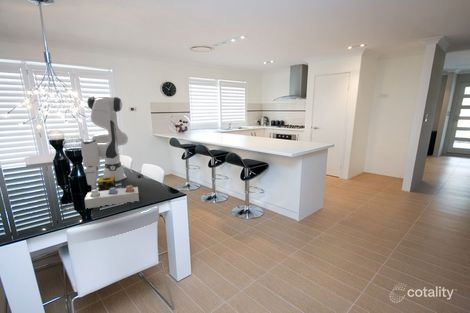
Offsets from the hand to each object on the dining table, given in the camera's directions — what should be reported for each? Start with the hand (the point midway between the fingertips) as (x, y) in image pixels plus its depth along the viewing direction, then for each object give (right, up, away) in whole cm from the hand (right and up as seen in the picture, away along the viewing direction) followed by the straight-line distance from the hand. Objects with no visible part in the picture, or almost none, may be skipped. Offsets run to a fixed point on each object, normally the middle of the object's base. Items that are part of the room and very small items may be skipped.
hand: (94, 187), depth 146 cm
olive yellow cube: (-4, -6, +22) cm, 24 cm away
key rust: (+18, -5, +10) cm, 21 cm away
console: (+9, -10, +7) cm, 15 cm away
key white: (0, -7, +2) cm, 7 cm away
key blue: (+9, -6, +6) cm, 12 cm away
